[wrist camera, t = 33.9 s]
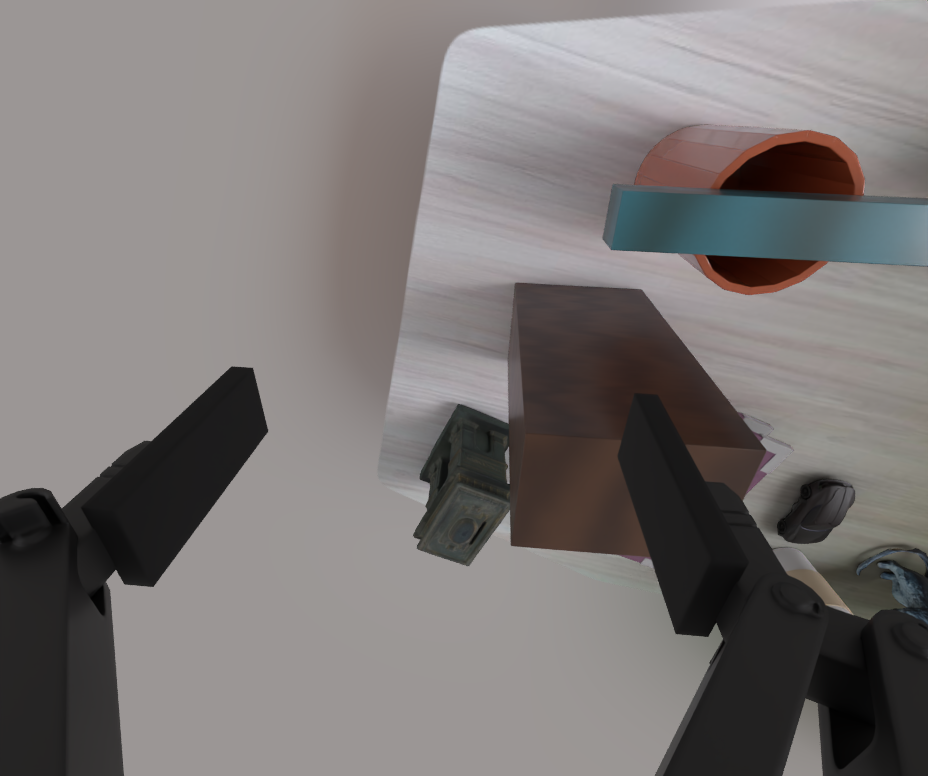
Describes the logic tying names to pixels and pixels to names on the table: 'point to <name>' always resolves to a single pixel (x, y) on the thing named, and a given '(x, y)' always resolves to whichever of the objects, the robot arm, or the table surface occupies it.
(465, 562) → the model
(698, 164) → the tall cup
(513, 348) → the pedestal
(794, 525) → the toy car
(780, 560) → the coffee cup
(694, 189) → the bar
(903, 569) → the sculpture
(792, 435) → the table surface
